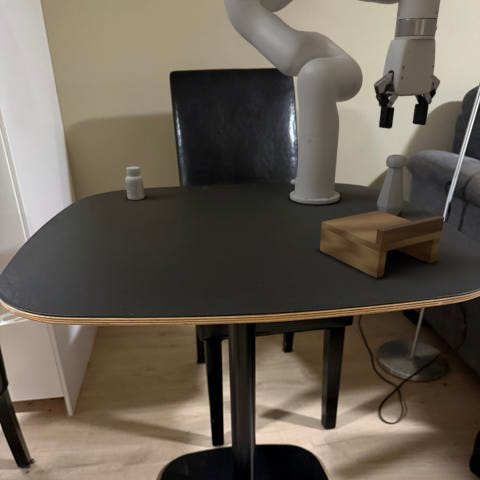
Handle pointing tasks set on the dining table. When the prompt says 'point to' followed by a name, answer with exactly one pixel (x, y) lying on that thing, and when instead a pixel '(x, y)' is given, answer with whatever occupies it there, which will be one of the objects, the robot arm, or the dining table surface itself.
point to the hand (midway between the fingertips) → (402, 126)
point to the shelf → (379, 239)
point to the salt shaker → (393, 186)
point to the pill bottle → (134, 183)
